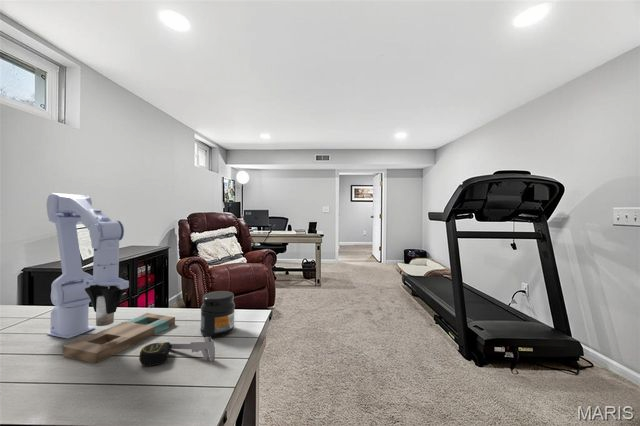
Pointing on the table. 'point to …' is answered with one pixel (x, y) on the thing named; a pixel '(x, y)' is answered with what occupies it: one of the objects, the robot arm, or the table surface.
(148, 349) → the tape measure
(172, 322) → the board
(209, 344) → the caliper
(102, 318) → the metal pin
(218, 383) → the table surface
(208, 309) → the supplement container
